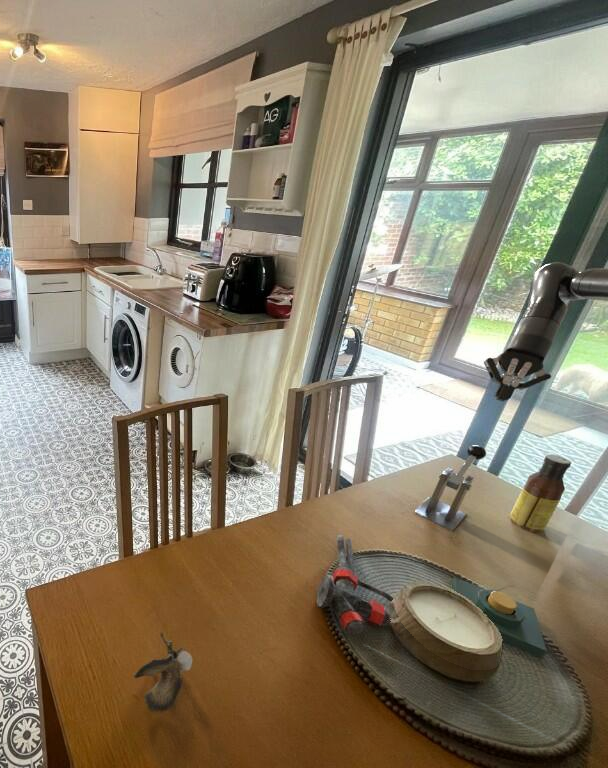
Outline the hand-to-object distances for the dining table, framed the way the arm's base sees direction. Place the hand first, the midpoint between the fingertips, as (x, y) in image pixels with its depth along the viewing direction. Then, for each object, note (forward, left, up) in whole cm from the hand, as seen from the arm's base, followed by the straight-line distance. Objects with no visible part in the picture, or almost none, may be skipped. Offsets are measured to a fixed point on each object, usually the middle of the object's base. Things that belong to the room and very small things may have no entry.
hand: (500, 400), depth 103 cm
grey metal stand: (+5, +18, -27) cm, 33 cm away
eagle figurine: (+45, +94, -28) cm, 108 cm away
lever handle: (+3, +13, -16) cm, 20 cm away
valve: (+20, +55, -28) cm, 65 cm away
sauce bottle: (-12, +10, -28) cm, 32 cm away
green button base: (-2, +47, -27) cm, 55 cm away
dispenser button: (-2, +47, -24) cm, 53 cm away
